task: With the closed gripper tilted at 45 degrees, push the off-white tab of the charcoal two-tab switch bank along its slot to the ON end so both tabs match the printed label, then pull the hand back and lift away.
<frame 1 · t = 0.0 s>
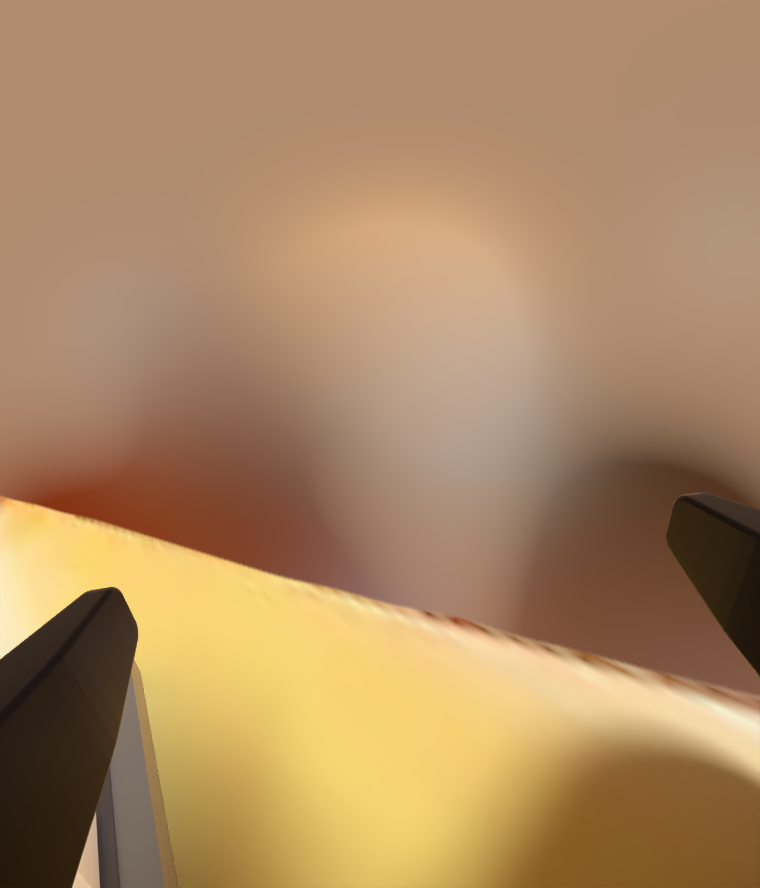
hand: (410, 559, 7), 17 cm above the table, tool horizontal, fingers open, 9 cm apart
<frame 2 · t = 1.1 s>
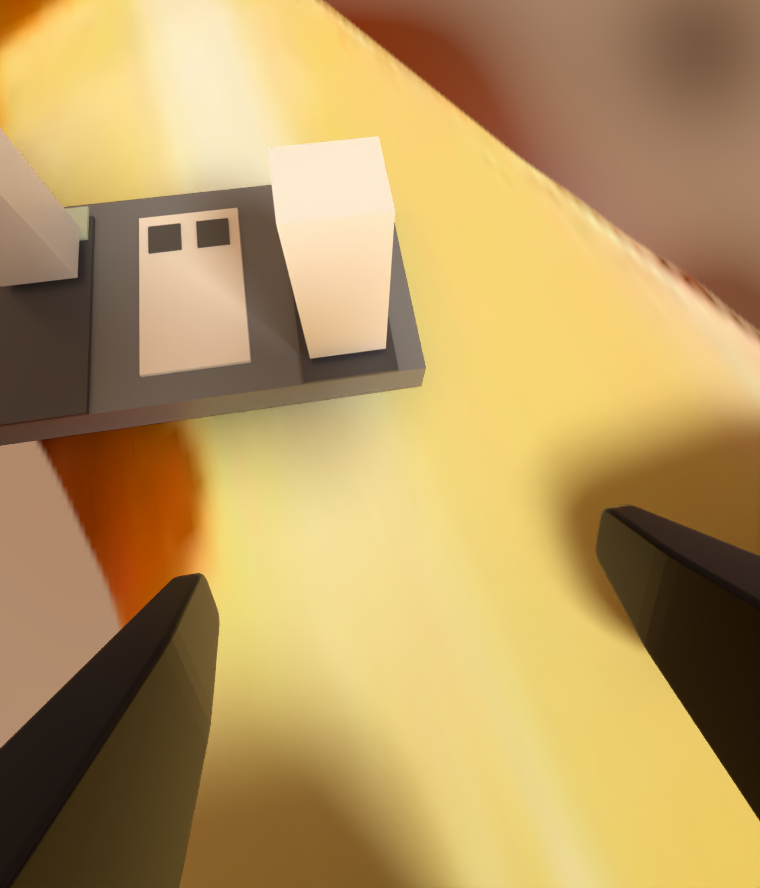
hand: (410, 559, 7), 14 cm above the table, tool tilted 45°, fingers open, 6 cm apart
tab offwhite: (338, 267, 18), point 6 cm above the table, slide at 0.0 cm
switch bank: (206, 311, 24), on the table
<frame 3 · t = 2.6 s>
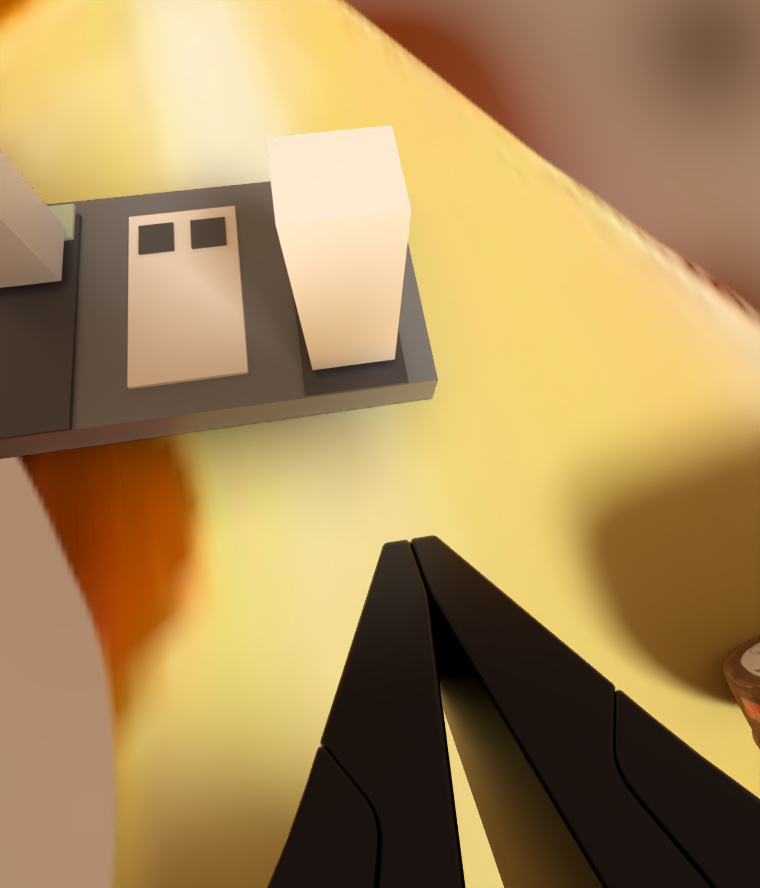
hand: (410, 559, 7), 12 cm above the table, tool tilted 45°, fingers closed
tab offwhite: (344, 272, 16), point 7 cm above the table, slide at 0.0 cm
switch bank: (201, 317, 23), on the table
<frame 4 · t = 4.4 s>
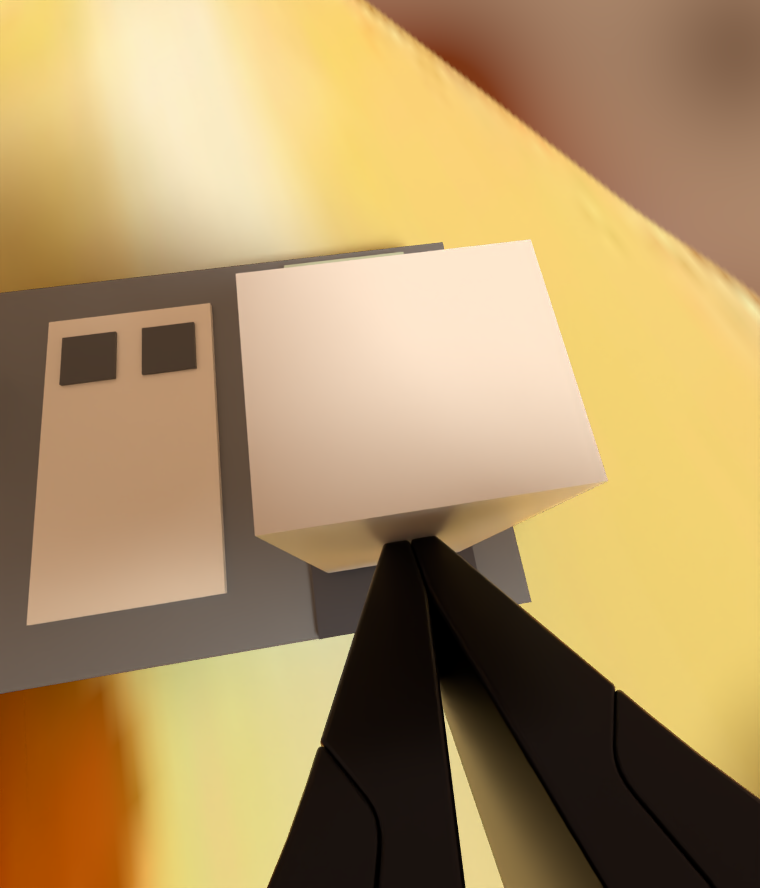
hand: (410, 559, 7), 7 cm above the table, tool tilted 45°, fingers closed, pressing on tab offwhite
tab offwhite: (391, 468, 9), point 7 cm above the table, slide at 0.6 cm, touching gripper
switch bank: (161, 465, 15), on the table
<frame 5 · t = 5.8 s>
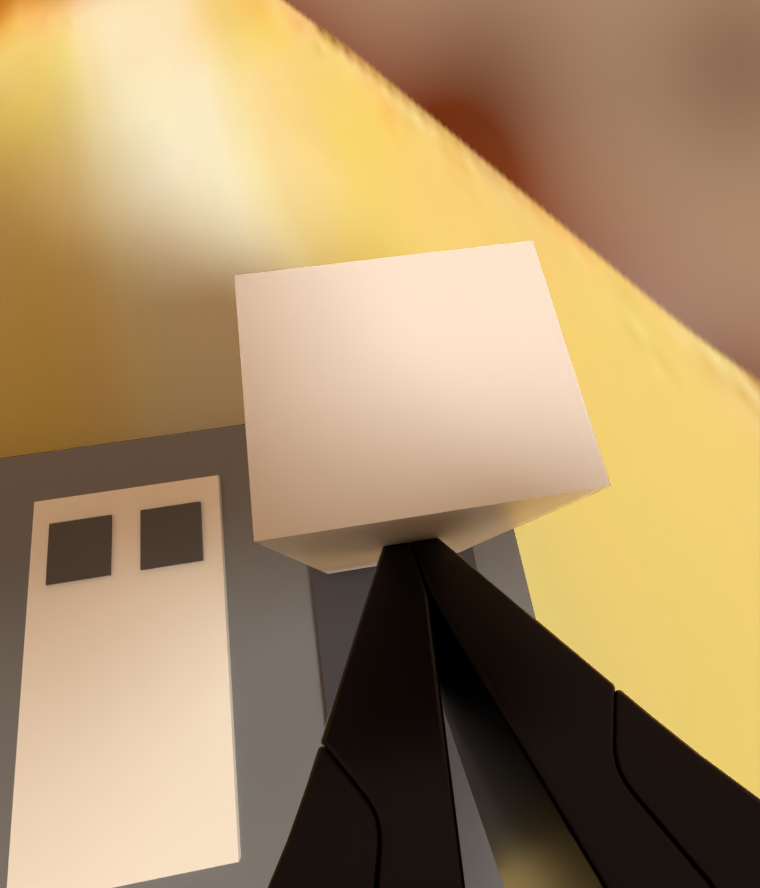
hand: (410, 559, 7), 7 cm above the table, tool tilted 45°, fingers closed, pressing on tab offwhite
tab offwhite: (391, 469, 9), point 6 cm above the table, slide at 6.3 cm, touching gripper
switch bank: (163, 652, 13), on the table
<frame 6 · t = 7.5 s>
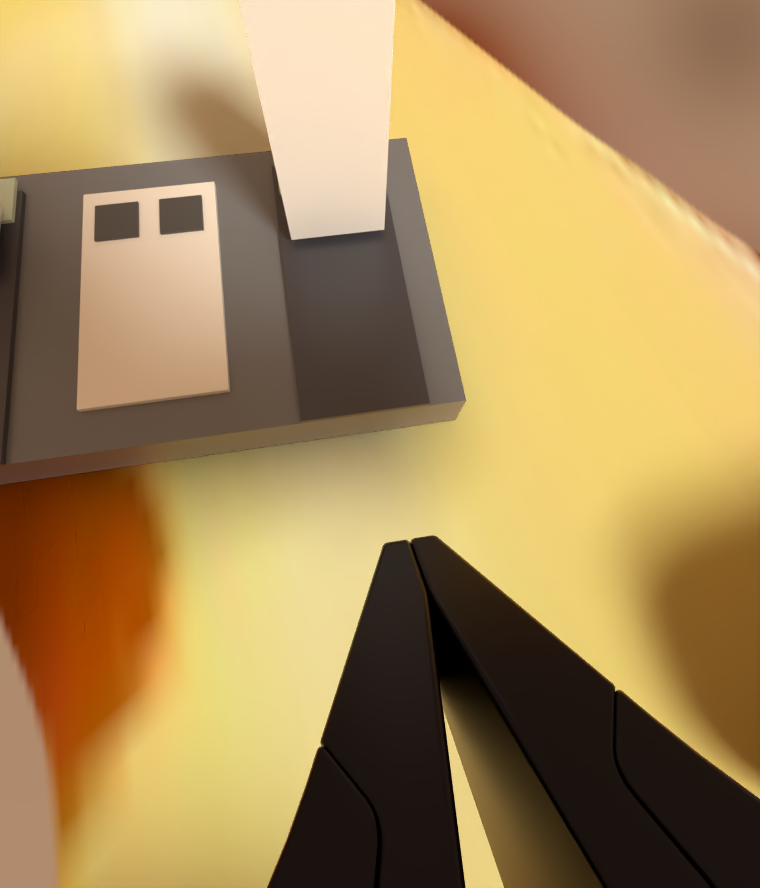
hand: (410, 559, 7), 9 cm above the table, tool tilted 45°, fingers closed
tab offwhite: (323, 97, 14), point 6 cm above the table, slide at 6.1 cm
switch bank: (175, 318, 19), on the table
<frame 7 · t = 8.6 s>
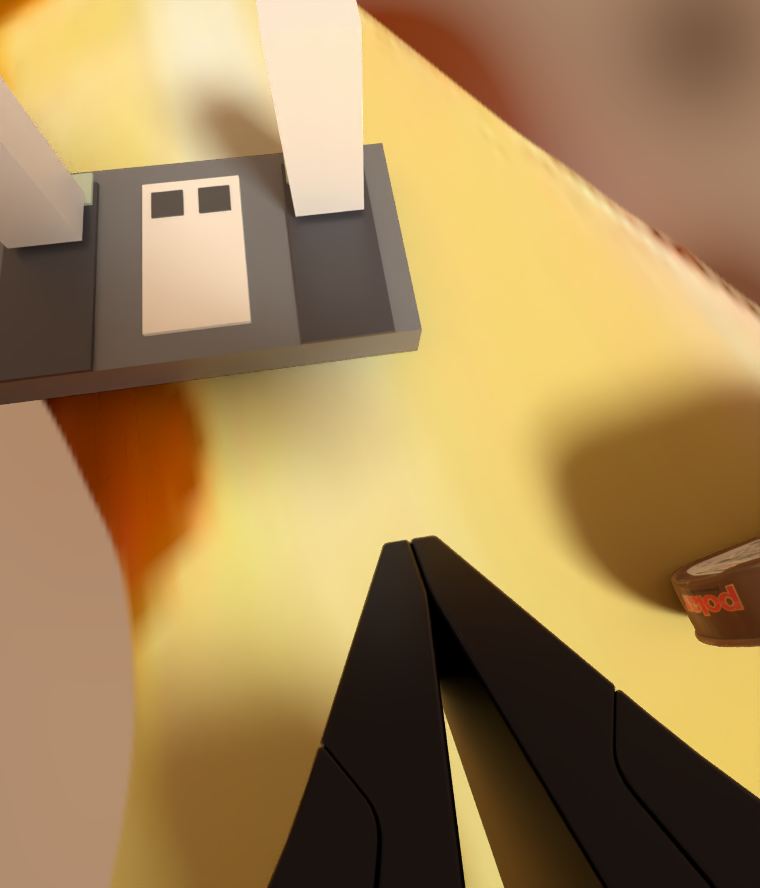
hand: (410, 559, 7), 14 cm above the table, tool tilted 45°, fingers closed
tab offwhite: (318, 113, 20), point 6 cm above the table, slide at 6.1 cm
switch bank: (208, 278, 25), on the table
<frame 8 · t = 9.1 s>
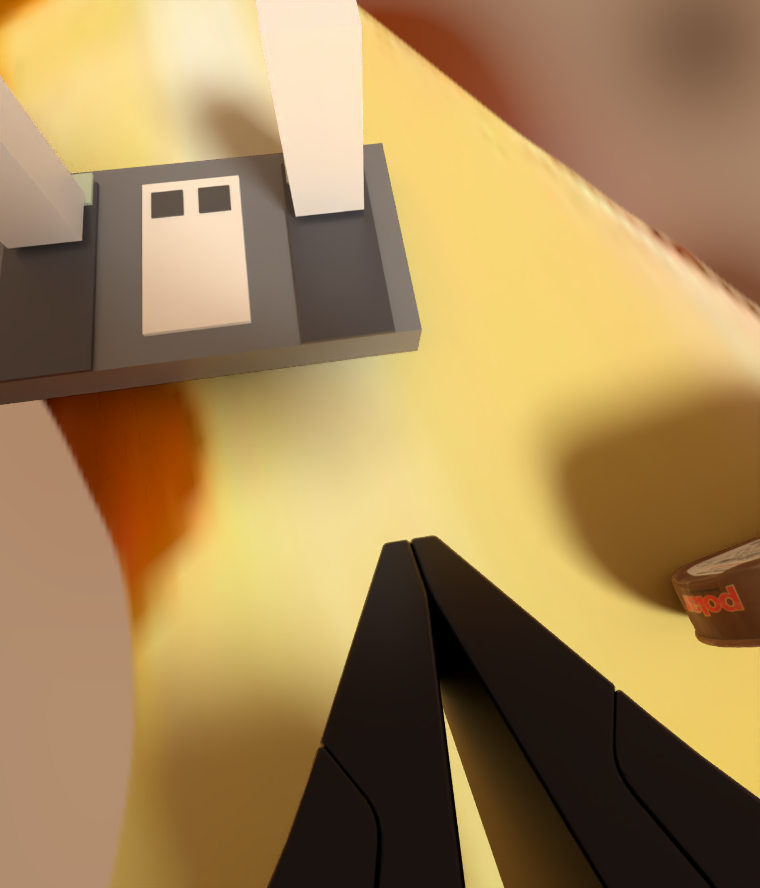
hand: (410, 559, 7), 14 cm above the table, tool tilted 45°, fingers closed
tab offwhite: (318, 113, 20), point 6 cm above the table, slide at 6.1 cm
switch bank: (208, 278, 25), on the table
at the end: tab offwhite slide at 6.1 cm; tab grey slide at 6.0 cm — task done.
